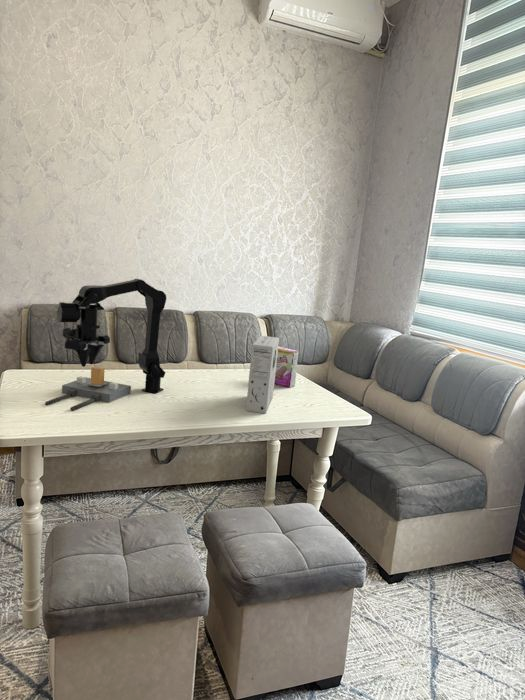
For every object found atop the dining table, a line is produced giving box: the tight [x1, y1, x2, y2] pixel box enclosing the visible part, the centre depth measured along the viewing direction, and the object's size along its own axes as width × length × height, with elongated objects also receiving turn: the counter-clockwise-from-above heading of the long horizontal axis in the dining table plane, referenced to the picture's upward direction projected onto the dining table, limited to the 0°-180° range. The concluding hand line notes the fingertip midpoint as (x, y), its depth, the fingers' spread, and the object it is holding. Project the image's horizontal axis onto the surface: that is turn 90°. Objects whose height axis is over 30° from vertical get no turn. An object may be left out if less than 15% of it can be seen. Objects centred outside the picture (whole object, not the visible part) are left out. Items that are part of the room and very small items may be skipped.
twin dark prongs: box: [44, 393, 96, 412], centre depth 176 cm, size 15×11×1 cm
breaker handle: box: [87, 365, 107, 387], centre depth 188 cm, size 5×5×6 cm
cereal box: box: [245, 335, 280, 414], centre depth 194 cm, size 22×8×25 cm, turn 172°
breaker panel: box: [61, 375, 132, 404], centre depth 188 cm, size 16×20×5 cm
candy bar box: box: [274, 346, 300, 388], centre depth 227 cm, size 11×5×16 cm, turn 58°
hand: (87, 365), depth 181 cm, fingers open, 4 cm apart
